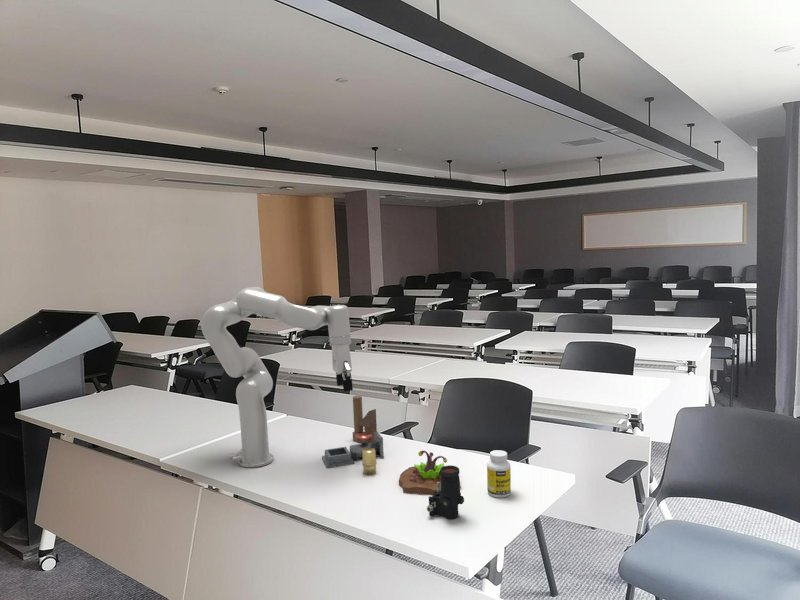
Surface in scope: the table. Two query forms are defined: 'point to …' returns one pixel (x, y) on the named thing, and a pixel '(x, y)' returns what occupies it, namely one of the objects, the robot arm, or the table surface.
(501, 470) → the supplement bottle
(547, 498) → the table surface
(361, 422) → the wooden block
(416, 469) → the plant
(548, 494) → the table surface
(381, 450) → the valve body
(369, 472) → the cylinder
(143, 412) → the table surface
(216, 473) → the table surface
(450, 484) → the scope
